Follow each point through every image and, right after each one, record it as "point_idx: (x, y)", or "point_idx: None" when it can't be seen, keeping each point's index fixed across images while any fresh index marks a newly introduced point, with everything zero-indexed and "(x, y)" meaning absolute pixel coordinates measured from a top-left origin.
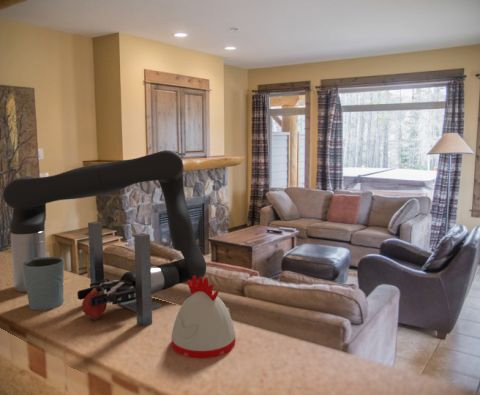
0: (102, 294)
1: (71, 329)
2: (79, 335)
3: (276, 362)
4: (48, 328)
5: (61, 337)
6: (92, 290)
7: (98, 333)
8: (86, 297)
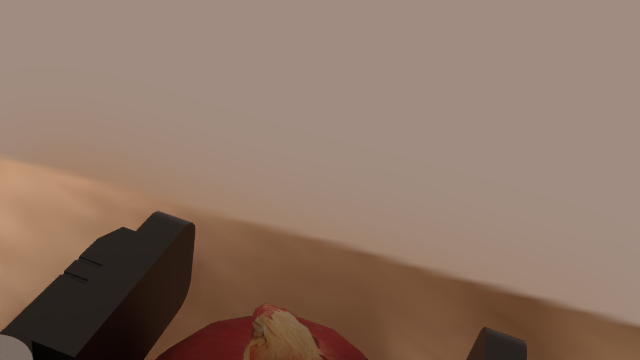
0: (72, 309)
1: None
2: None
3: None
4: (441, 313)
5: (257, 246)
6: (293, 318)
7: None
8: (325, 327)
